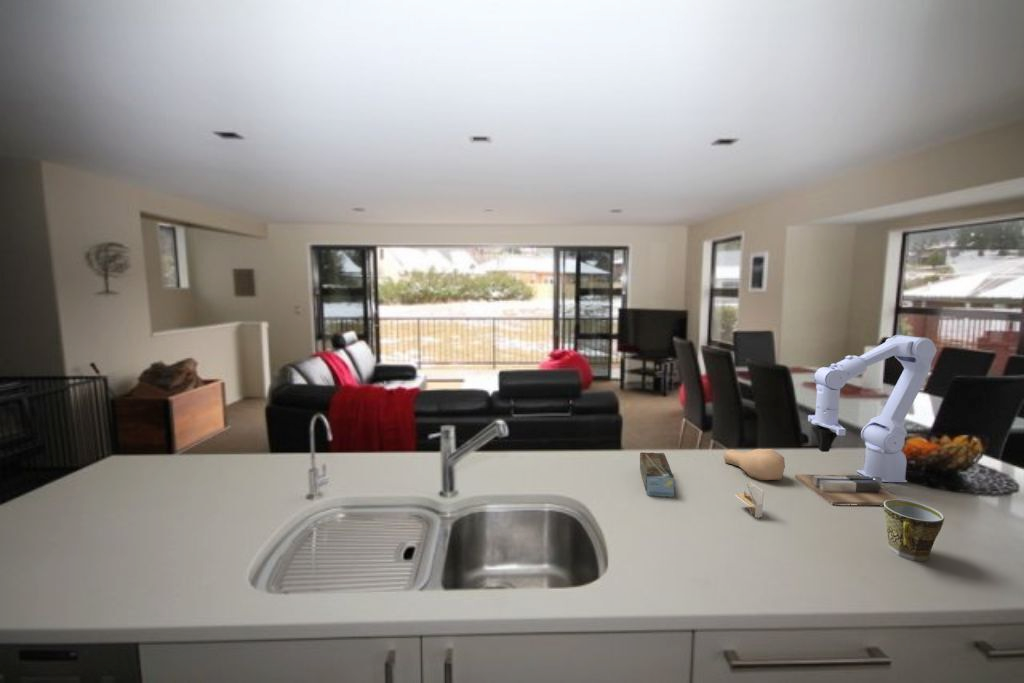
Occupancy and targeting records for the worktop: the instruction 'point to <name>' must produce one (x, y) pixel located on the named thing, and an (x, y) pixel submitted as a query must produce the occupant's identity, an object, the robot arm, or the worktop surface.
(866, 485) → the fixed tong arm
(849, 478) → the bar
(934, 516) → the ceramic cup
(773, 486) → the worktop surface
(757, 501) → the architectural model
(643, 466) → the beverage carton
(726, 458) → the squash
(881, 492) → the board
